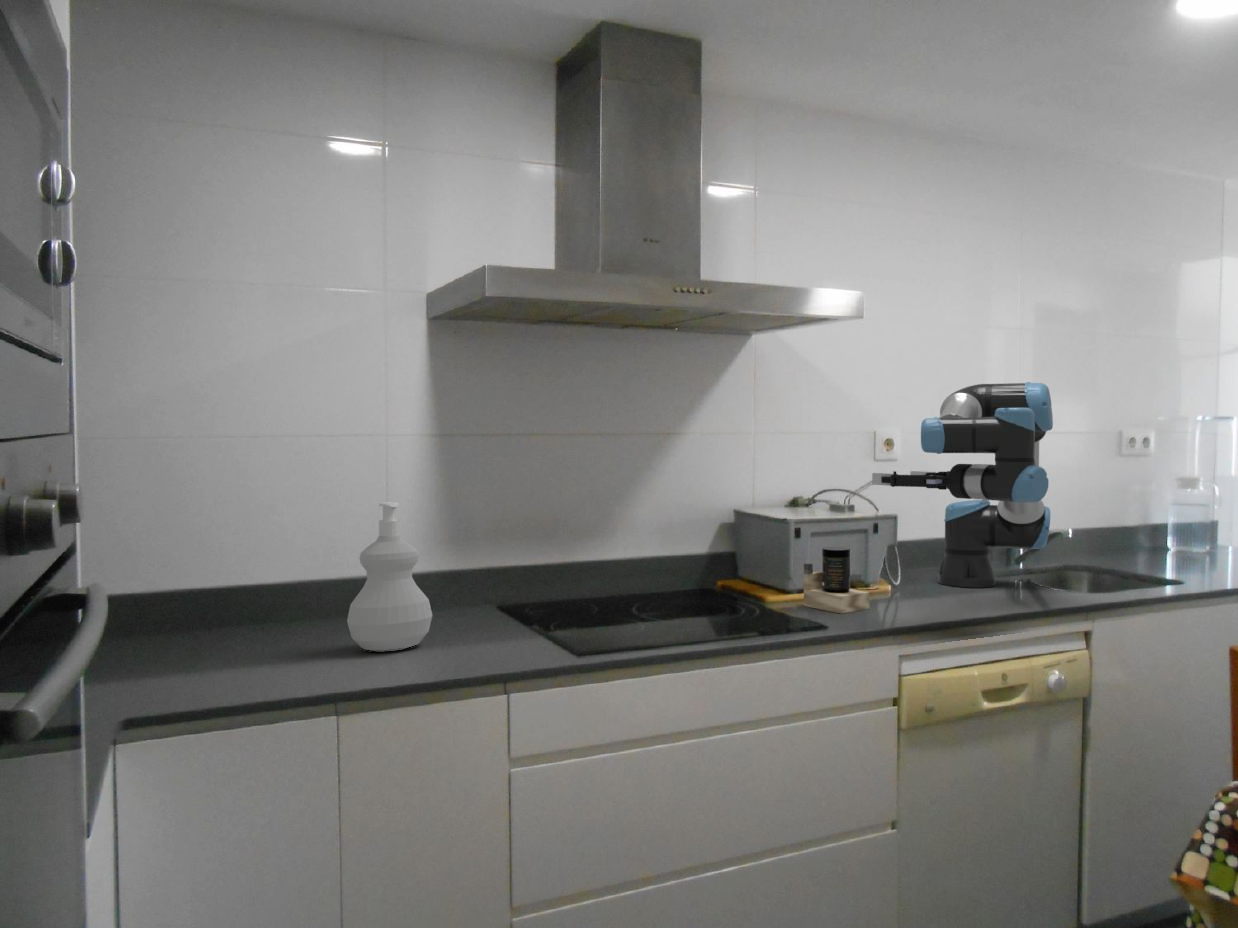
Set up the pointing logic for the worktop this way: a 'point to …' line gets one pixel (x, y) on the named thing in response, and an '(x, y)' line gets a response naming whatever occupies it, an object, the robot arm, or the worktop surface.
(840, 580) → the supplement container
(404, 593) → the soap bottle
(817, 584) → the holder
